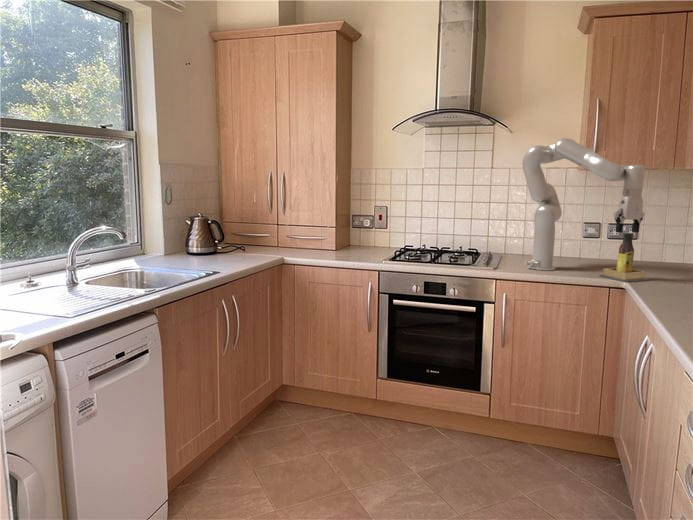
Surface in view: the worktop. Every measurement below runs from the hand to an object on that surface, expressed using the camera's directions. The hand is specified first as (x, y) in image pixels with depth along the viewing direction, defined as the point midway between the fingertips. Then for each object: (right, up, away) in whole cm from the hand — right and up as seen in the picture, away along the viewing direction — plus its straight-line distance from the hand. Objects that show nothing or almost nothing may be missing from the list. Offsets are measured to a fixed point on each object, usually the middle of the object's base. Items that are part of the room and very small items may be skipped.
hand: (627, 232), depth 234 cm
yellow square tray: (0, -21, +3) cm, 21 cm away
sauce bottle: (0, -20, +3) cm, 20 cm away
